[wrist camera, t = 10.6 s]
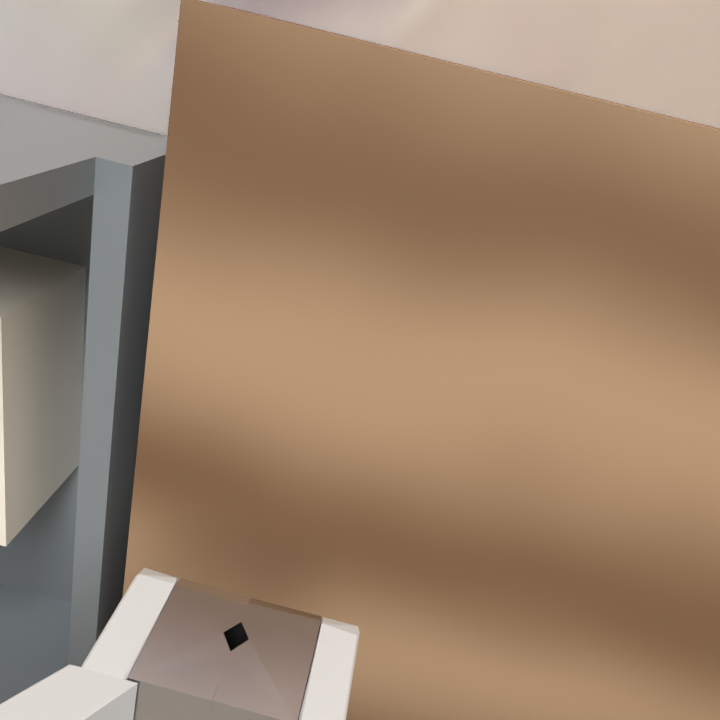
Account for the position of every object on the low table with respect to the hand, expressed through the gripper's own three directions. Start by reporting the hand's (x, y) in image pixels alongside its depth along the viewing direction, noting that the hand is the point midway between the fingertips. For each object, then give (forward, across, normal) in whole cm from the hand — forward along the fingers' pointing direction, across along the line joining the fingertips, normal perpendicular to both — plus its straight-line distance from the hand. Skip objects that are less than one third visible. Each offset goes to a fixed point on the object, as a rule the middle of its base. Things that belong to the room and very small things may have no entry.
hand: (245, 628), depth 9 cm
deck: (+7, -5, +1) cm, 8 cm away
